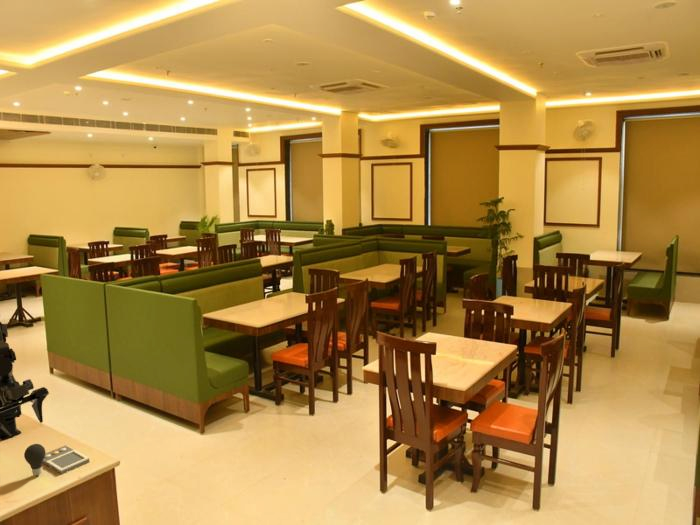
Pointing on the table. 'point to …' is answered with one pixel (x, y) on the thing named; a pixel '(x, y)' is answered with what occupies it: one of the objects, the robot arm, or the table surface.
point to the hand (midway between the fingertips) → (26, 428)
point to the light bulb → (35, 457)
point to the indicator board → (64, 459)
